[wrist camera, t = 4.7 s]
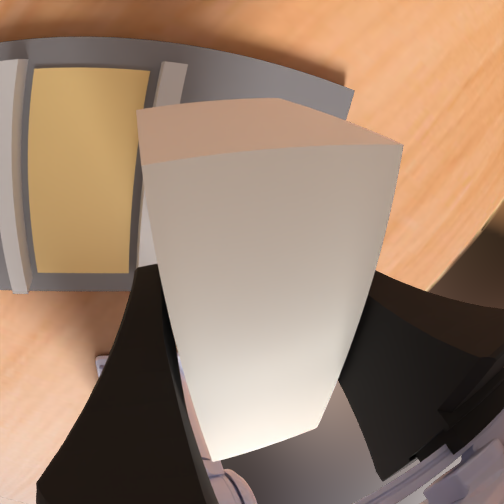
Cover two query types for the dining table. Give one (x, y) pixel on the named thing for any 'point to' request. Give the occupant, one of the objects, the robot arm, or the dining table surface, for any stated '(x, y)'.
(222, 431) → the frame block
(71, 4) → the dining table surface
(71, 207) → the grey ridged board
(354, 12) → the dining table surface
